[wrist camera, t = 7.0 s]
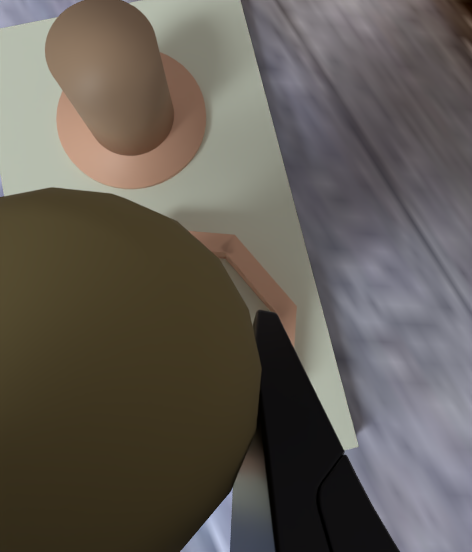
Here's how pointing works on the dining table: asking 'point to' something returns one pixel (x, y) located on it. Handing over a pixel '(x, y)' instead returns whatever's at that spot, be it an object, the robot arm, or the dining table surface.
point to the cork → (116, 376)
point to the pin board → (169, 145)
